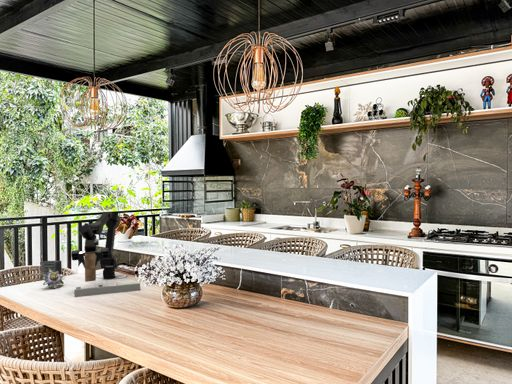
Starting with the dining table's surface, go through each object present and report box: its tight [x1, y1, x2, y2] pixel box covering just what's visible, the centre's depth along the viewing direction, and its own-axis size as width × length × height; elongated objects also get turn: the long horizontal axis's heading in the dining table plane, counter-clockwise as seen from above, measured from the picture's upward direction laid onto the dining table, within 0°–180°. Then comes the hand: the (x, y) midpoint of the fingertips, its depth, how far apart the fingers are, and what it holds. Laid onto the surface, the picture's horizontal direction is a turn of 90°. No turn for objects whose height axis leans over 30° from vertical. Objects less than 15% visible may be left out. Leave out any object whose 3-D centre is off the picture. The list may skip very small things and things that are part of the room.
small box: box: [39, 260, 63, 280], centre depth 245 cm, size 11×6×10 cm, turn 84°
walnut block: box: [84, 253, 97, 283], centre depth 208 cm, size 5×5×14 cm
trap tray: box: [73, 280, 141, 298], centre depth 210 cm, size 32×13×4 cm, turn 110°
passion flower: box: [40, 270, 65, 289], centre depth 220 cm, size 11×11×12 cm
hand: (90, 267), depth 207 cm, fingers closed on walnut block, 5 cm apart
